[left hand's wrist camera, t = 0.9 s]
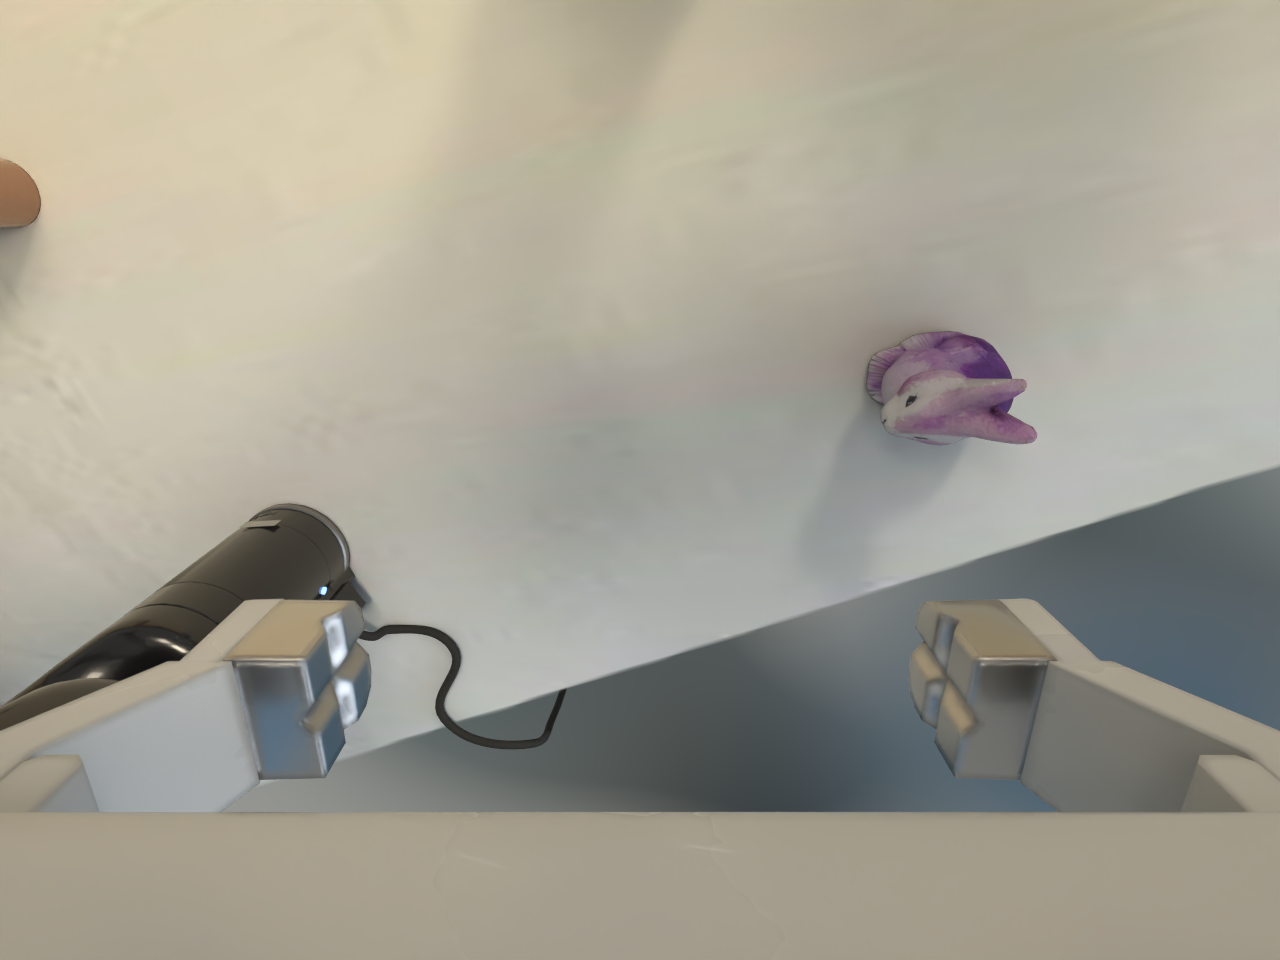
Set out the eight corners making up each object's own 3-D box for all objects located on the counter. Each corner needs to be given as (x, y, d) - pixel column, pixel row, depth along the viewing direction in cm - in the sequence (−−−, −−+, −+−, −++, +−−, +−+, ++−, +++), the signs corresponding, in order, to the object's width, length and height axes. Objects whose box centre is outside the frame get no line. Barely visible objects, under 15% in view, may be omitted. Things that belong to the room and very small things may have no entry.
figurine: (834, 382, 57) (898, 433, 43) (937, 295, 55) (1039, 318, 41) (902, 461, 60) (983, 534, 46) (1003, 381, 57) (1122, 431, 43)
